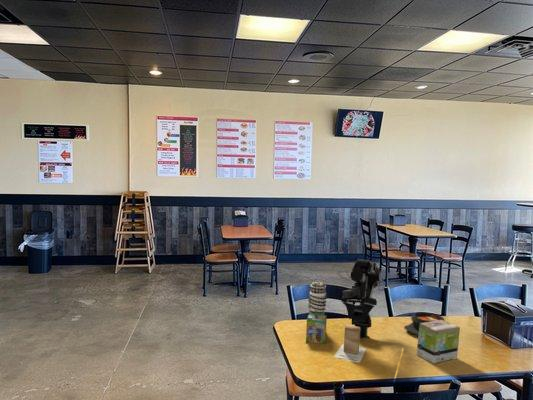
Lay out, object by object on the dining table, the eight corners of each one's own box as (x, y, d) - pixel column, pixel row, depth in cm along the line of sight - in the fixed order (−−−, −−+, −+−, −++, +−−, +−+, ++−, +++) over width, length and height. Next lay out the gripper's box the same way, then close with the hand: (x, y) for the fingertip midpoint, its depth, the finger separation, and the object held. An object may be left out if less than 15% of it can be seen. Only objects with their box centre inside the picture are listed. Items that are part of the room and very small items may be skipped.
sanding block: (345, 348, 181) (346, 324, 180) (358, 351, 178) (360, 327, 178) (343, 351, 177) (344, 327, 176) (357, 354, 175) (358, 330, 174)
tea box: (434, 364, 171) (437, 330, 170) (416, 354, 180) (418, 322, 179) (458, 358, 178) (460, 326, 177) (439, 349, 187) (441, 318, 186)
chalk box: (325, 346, 185) (326, 314, 184) (305, 343, 187) (307, 312, 186) (326, 338, 194) (327, 308, 193) (307, 335, 196) (308, 306, 195)
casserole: (433, 323, 221) (434, 309, 221) (460, 337, 204) (461, 320, 203) (396, 328, 212) (397, 312, 212) (421, 342, 195) (422, 325, 194)
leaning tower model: (327, 334, 198) (330, 285, 197) (310, 335, 196) (312, 285, 195) (321, 327, 207) (323, 280, 206) (304, 328, 205) (306, 280, 204)
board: (342, 345, 186) (342, 343, 186) (366, 350, 181) (366, 348, 181) (333, 359, 171) (333, 357, 171) (359, 365, 167) (359, 363, 167)
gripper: (334, 282, 194) (330, 315, 189) (360, 281, 178) (356, 317, 173) (352, 287, 198) (348, 319, 193) (379, 287, 182) (375, 322, 177)
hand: (356, 319), depth 184 cm, fingers open, 9 cm apart
